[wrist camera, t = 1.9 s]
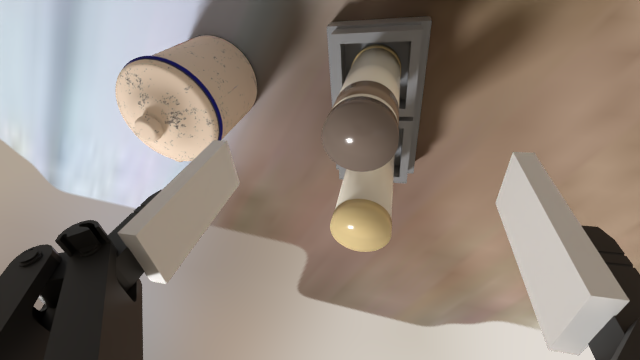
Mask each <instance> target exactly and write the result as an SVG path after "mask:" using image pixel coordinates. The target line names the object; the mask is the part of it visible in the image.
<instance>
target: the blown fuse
mask: <svg viewBox="0 0 640 360" xmlns="http://www.w3.org/2000/svg"><path fill="white" fill-rule="evenodd" d="M400 77H401V61H400V58H399V56H398V55H397V53H396V52H395V51H394V50H393V49H392V48H390V47H389V46H386V45H383V44H372V45H369V46H367V47H365V48H363V49H362V50H361V51H360V52H359V53H358V54H357V55H356V57H355V59H354V61H353V63H352V66H351V69H350V71H349V73H348V76H347V78H346V80H345V82H344V84H343V86H342V89H341V91H340V93H339V95H338V97H337V99H336V101H335V103H334V105H333V107H332V110H331V112H330V113H329V115H328V117H327V119H326V121H325V124H324V126H323V129H322V144H323V147H324V150H325V152H326V153H327V155H328V156H329V157H330V159H331V160H332V161H334V162H335V163H336V164H337V165H339V166H341V167H343V168H345V169H348V170H351V171H356V172H368V171H373V170H376V169H378V168H381V167H382V166H384V165H386V164H387V163H388V162H389V161H390V160H391V159H392V158H393V156H394V155H395V153H396V151H397V148H398V143H399V96H400Z"/></svg>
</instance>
